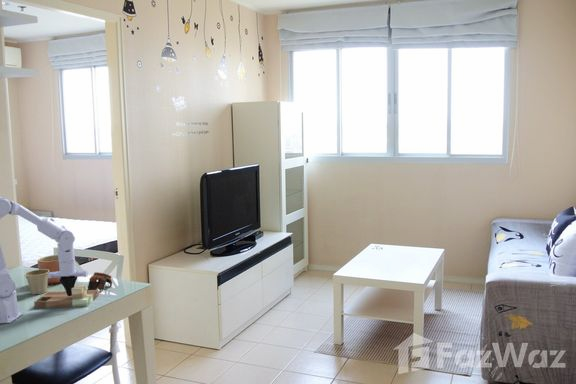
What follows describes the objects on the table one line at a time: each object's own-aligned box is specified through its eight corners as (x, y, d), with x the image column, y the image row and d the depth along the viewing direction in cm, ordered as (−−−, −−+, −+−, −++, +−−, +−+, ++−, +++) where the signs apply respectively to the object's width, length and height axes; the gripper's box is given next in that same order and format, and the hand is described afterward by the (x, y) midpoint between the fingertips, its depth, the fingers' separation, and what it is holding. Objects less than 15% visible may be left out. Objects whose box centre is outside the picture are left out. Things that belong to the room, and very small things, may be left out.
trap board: (87, 306, 200) (86, 299, 200) (34, 308, 201) (34, 301, 200) (98, 296, 212) (98, 289, 212) (49, 297, 213) (48, 291, 212)
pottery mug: (83, 290, 222) (89, 271, 225) (104, 296, 227) (110, 277, 230) (90, 290, 212) (97, 270, 215) (113, 295, 217) (119, 276, 220)
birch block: (82, 298, 201) (81, 288, 201) (72, 299, 202) (71, 288, 201) (86, 295, 205) (86, 285, 205) (76, 295, 206) (75, 285, 205)
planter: (48, 278, 242) (45, 255, 241) (74, 277, 241) (72, 254, 240) (34, 286, 230) (31, 262, 228) (62, 285, 229) (59, 261, 228)
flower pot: (41, 296, 215) (39, 275, 214) (21, 295, 217) (19, 275, 216) (56, 289, 224) (54, 269, 223) (36, 288, 226) (34, 269, 225)
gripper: (89, 257, 205) (92, 291, 207) (52, 258, 205) (56, 292, 207) (82, 262, 198) (85, 297, 200) (44, 263, 198) (47, 298, 200)
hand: (70, 295), depth 203 cm, fingers closed
